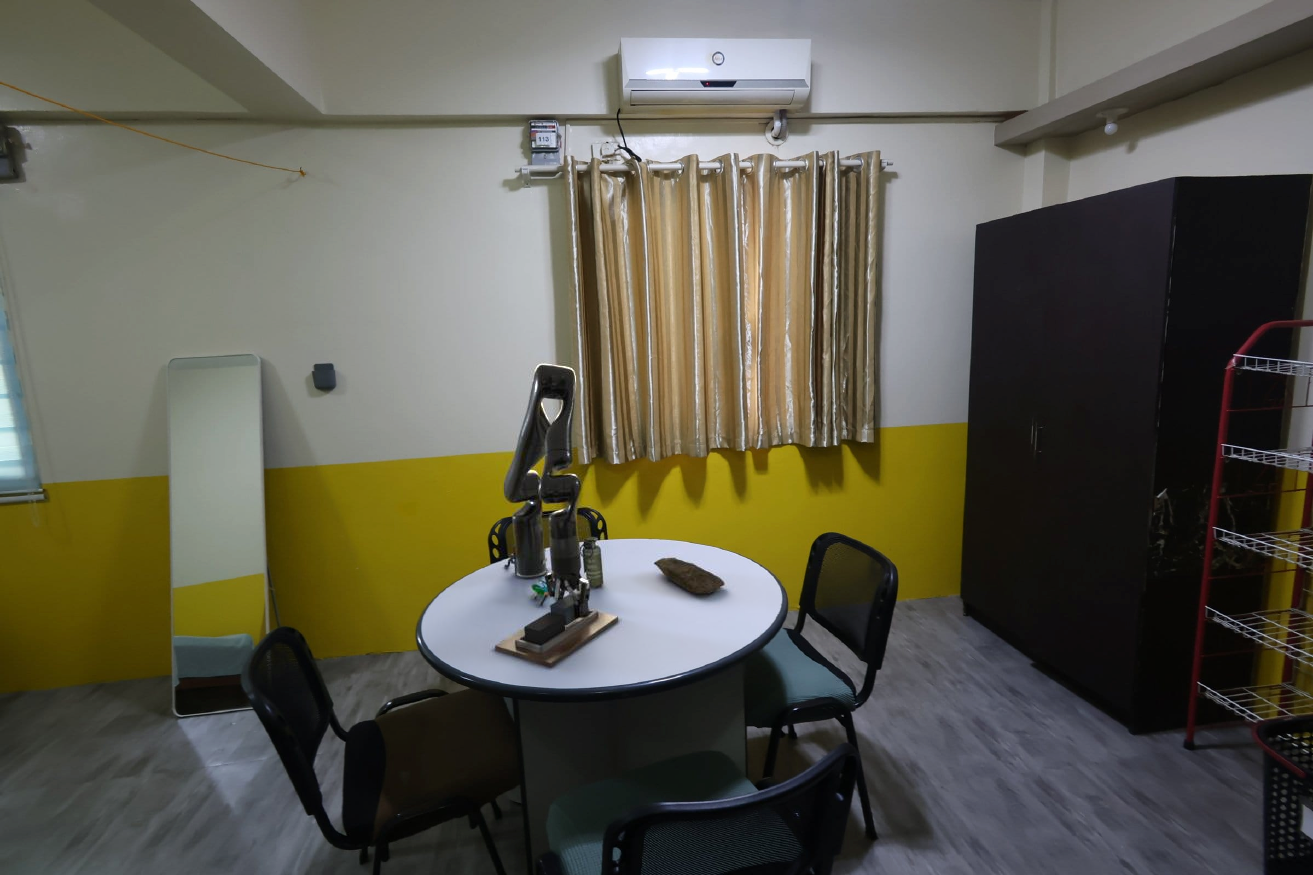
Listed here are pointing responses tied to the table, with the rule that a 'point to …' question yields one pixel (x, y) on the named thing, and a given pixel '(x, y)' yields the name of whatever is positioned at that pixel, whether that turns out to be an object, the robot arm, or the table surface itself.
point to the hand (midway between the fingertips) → (570, 614)
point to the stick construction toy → (541, 591)
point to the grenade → (592, 562)
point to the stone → (689, 575)
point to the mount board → (558, 640)
